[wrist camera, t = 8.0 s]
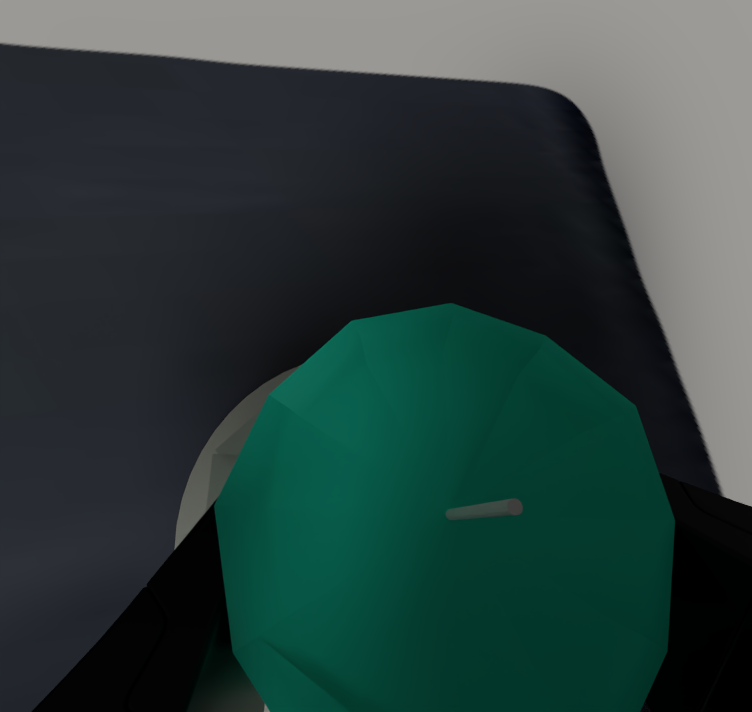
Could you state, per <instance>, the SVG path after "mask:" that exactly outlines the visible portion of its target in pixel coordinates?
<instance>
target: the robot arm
mask: <svg viewBox="0 0 752 712" xmlns="http://www.w3.org/2000/svg"><path fill="white" fill-rule="evenodd" d="M659 475H660V478H661V481H662V484H663V486H664V489H665V492H666V495H667V498H668V501H669V504H670V507H671V510H672V513H673V516H674V519H675V532H674V549H673V566H672V583H671V600H670V618H669V635H668V652H667V654H666V656H665V658H664V660H663V663H662V665H661V667H660V669H659V671H658V674H657V676H656V678H655V680H654V682H653V685H652V687H651V689H650V691H649V693H648V696H647V698H646V700H645V702H646V703H647V705H648V707H649V708H650V710H651V711H652V712H752V507H751V506H748V505H745V504H742V503H739V502H736V501H733V500H731V499H728V498H725V497H722V496H720V495H717V494H714V493H711V492H709V491H706V490H703V489H700V488H698V487H695V486H693V485H690V484H687V483H685V482H678V480H676V479H674V478H671V477H669V476H666V475H663V474H661V473H659ZM218 497H219V496H218ZM217 499H218V498H217ZM217 499H216V500H215V501H214V502H213V504H212V505H211V506H210V507H209V509H208V510H207V511H206V512H205V513H204V515H203V516H202V517H201V518H200V520H199V521H198V522H197V523H196V524H195V526H194V527H193V528H192V529H191V531H190V532H189V533H188V534H187V535H186V537H185V538H184V539H183V540H182V542H181V543H180V544H179V545H178V546H177V548H176V549H175V550H174V551H173V553H172V554H171V555H170V556H169V557H168V559H167V560H166V561H165V562H164V564H163V565H162V566H161V567H160V568H159V570H158V571H157V572H156V573H155V575H154V576H153V577H152V578H151V579H150V581H149V582H148V583H147V587H144V588H143V589H142V590H141V591H140V593H139V594H138V595H137V596H136V597H135V599H134V600H133V601H132V602H131V604H130V605H129V606H128V607H127V608H126V609H125V611H124V612H123V613H122V614H121V615H120V616H119V618H118V619H117V620H116V621H115V622H114V623H113V625H112V626H111V627H110V628H109V629H108V630H107V632H106V633H105V634H104V635H103V636H102V637H101V639H100V640H99V641H98V642H97V643H96V644H95V645H94V646H93V647H92V648H91V649H90V650H89V652H88V653H87V654H86V655H85V656H84V657H83V658H82V659H81V660H80V661H79V662H78V663H77V664H76V666H75V667H74V668H73V669H72V670H71V671H70V672H69V673H68V674H67V675H66V676H65V677H64V678H63V679H62V680H61V681H60V683H59V684H58V685H57V686H56V687H55V688H54V689H53V690H52V691H51V692H50V693H49V694H48V695H47V696H46V697H45V698H44V699H43V700H42V701H41V702H40V703H39V704H38V705H37V707H36V708H35V709H34V710H33V711H32V712H264V707H265V703H264V701H263V700H262V698H261V697H260V695H259V693H258V692H257V690H256V689H255V687H254V686H253V684H252V682H251V681H250V679H249V678H248V676H247V674H246V673H245V671H244V670H243V668H242V667H241V665H240V663H239V662H238V660H237V659H236V657H235V655H234V654H233V651H232V643H231V635H230V627H229V619H228V612H227V604H226V596H225V588H224V580H223V572H222V564H221V556H220V548H219V540H218V533H217V525H216V517H215V509H214V505H215V503H216V501H217Z"/></svg>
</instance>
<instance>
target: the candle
mask: <svg viewBox="0 0 752 712" xmlns="http://www.w3.org/2000/svg"><path fill="white" fill-rule="evenodd" d="M214 509H215V517H216V525H217V533H218V540H219V548H220V556H221V564H222V572H223V580H224V588H225V596H226V604H227V612H228V619H229V627H230V635H231V643H232V651H233V654H234V655H235V657H236V659H237V660H238V662H239V663H240V665H241V667H242V668H243V670H244V671H245V673H246V674H247V676H248V678H249V679H250V681H251V682H252V684H253V686H254V687H255V689H256V690H257V692H258V693H259V695H260V697H261V698H262V700H263V701H264V703H265V705H266V706H267V708H268V709H269V711H270V712H640V711H641V709H642V707H643V704H644V702H645V700H646V698H647V696H648V693H649V691H650V689H651V687H652V685H653V682H654V680H655V678H656V676H657V674H658V671H659V669H660V667H661V665H662V663H663V660H664V658H665V656H666V654H667V652H668V635H669V618H670V600H671V583H672V566H673V549H674V532H675V519H674V516H673V513H672V510H671V507H670V504H669V501H668V498H667V495H666V492H665V489H664V486H663V484H662V481H661V478H660V475H659V472H658V469H657V466H656V463H655V460H654V457H653V454H652V451H651V448H650V446H649V443H648V440H647V437H646V434H645V431H644V428H643V425H642V422H641V419H640V416H639V413H638V411H637V408H636V405H634V404H633V403H632V402H630V401H629V400H628V399H627V398H625V397H624V396H623V395H621V394H620V393H619V392H618V391H616V390H615V389H614V388H612V387H611V386H610V385H609V384H607V383H606V382H605V381H603V380H602V379H601V378H600V377H598V376H597V375H596V374H595V373H593V372H592V371H591V370H589V369H588V368H587V367H586V366H584V365H583V364H582V363H580V362H579V361H578V360H577V359H575V358H574V357H573V356H571V355H570V354H569V353H568V352H566V351H565V350H564V349H562V348H561V347H560V346H559V345H557V344H556V343H555V342H554V341H552V340H551V339H550V338H548V337H547V336H546V335H543V334H540V333H537V332H534V331H531V330H528V329H525V328H522V327H520V326H517V325H514V324H511V323H508V322H505V321H502V320H499V319H496V318H494V317H491V316H488V315H485V314H482V313H479V312H476V311H473V310H470V309H468V308H465V307H462V306H459V305H456V304H453V303H448V304H442V305H437V306H431V307H425V308H420V309H414V310H409V311H403V312H398V313H392V314H386V315H381V316H375V317H370V318H364V319H359V320H353V321H351V322H350V323H348V324H347V325H346V326H345V327H344V328H343V329H342V330H341V331H339V332H338V333H337V334H336V335H335V336H334V337H333V338H332V339H330V340H329V341H328V342H327V343H326V344H325V345H324V346H323V347H321V348H320V349H319V350H318V351H317V352H316V353H315V354H314V355H312V356H311V357H310V358H309V359H308V360H307V361H306V362H305V363H303V364H302V365H301V366H300V367H299V368H298V369H297V370H296V371H294V372H293V373H292V374H291V375H290V376H289V377H288V378H287V379H285V380H284V381H283V382H282V383H281V384H280V385H279V386H278V387H276V388H275V389H274V390H273V391H272V392H271V393H270V394H269V395H268V397H267V399H266V401H265V403H264V405H263V407H262V409H261V411H260V413H259V415H258V417H257V419H256V421H255V423H254V425H253V427H252V429H251V431H250V433H249V435H248V437H247V439H246V441H245V443H244V446H243V448H242V450H241V452H240V454H239V456H238V458H237V460H236V462H235V464H234V466H233V468H232V470H231V472H230V474H229V476H228V478H227V480H226V482H225V484H224V486H223V488H222V490H221V492H220V494H219V497H218V499H217V501H216V503H215V505H214Z"/></svg>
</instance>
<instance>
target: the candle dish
mask: <svg viewBox="0 0 752 712" xmlns="http://www.w3.org/2000/svg"><path fill="white" fill-rule="evenodd" d="M300 366H301V365H300ZM300 366H298V367H295V368H293V369H291V370H288V371H286V372H283V373H282V374H280V375H278V376H276V377H275V378H273V379H271V380H269V381H268V382H266V383H264V384H263V385H261V386H260V387H259V388H257V389H256V390H255V391H253V392H252V393H251V394H249V395H248V396H247V397H246V398H245V399H244V400H242V401H241V402H240V403H239V404H238V405H237V406H236V407H235V408H234V409H233V410H232V411H231V412H230V413H229V414H228V415H227V417H226V418H225V419H224V420H223V421H222V423H221V424H220V425H219V426H218V428H217V429H216V430H215V431H214V433H213V434H212V436H211V437H210V439H209V441H208V442H207V444H206V445H205V447H204V448H203V450H202V452H201V454H200V456H199V458H198V460H197V462H196V464H195V466H194V468H193V470H192V472H191V474H190V477H189V480H188V483H187V486H186V489H185V492H184V495H183V498H182V502H181V507H180V511H179V516H178V521H177V527H176V539H175V549H176V548H177V546H178V545H179V544H180V543H181V542H182V540H183V539H184V538H185V537H186V535H187V534H188V533H189V532H190V531H191V529H192V528H193V527H194V526H195V524H196V523H197V522H198V521H199V520H200V518H201V517H202V516H203V515H204V513H205V512H206V511H207V510H208V509H209V507H210V506H211V505H212V504H213V502H214V501H215V500H216V499H217V498H218V496H219V494H220V492H221V490H222V488H223V486H224V484H225V482H226V480H227V478H228V476H229V474H230V472H231V470H232V468H233V466H234V464H235V462H236V460H237V458H238V456H239V454H240V452H241V450H242V448H243V446H244V443H245V441H246V439H247V437H248V435H249V433H250V431H251V429H252V427H253V425H254V423H255V421H256V419H257V417H258V415H259V413H260V411H261V409H262V407H263V405H264V403H265V401H266V399H267V397H268V395H269V394H270V393H271V392H272V391H273V390H274V389H275V388H276V387H278V386H279V385H280V384H281V383H282V382H283V381H284V380H285V379H287V378H288V377H289V376H290V375H291V374H292V373H293V372H294V371H296V370H297V369H298V368H299V367H300ZM264 712H270V711H269V709H268V708H267V706H266V705H265V707H264Z"/></svg>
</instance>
